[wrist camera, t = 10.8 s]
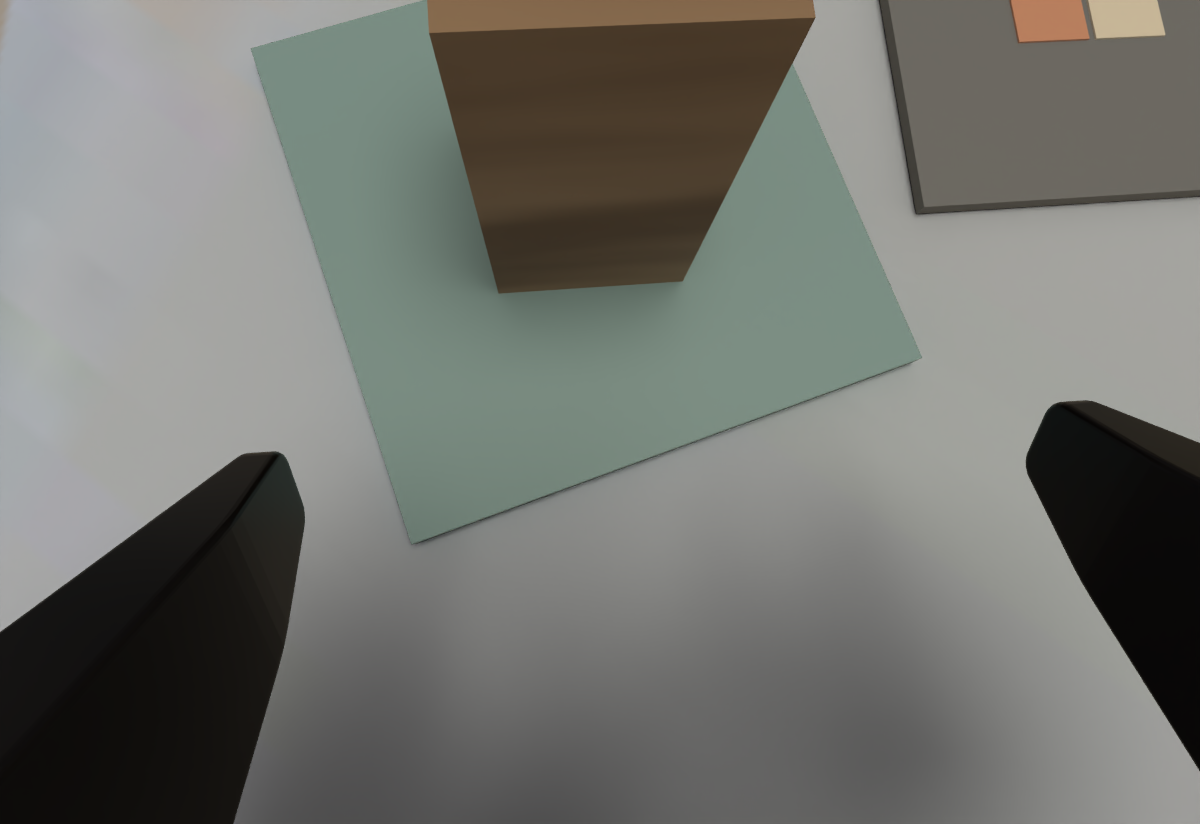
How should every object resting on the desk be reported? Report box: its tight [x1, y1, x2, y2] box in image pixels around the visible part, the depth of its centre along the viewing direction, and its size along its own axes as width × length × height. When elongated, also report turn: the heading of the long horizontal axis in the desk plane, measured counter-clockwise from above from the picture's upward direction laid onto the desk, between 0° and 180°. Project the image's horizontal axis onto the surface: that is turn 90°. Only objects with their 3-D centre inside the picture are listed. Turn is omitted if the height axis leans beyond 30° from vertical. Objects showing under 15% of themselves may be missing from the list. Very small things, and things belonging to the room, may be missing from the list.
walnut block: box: [427, 0, 815, 294], centre depth 13 cm, size 4×4×9 cm
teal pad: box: [251, 0, 922, 544], centre depth 17 cm, size 13×13×1 cm
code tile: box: [880, 0, 1200, 214], centre depth 19 cm, size 11×11×1 cm
